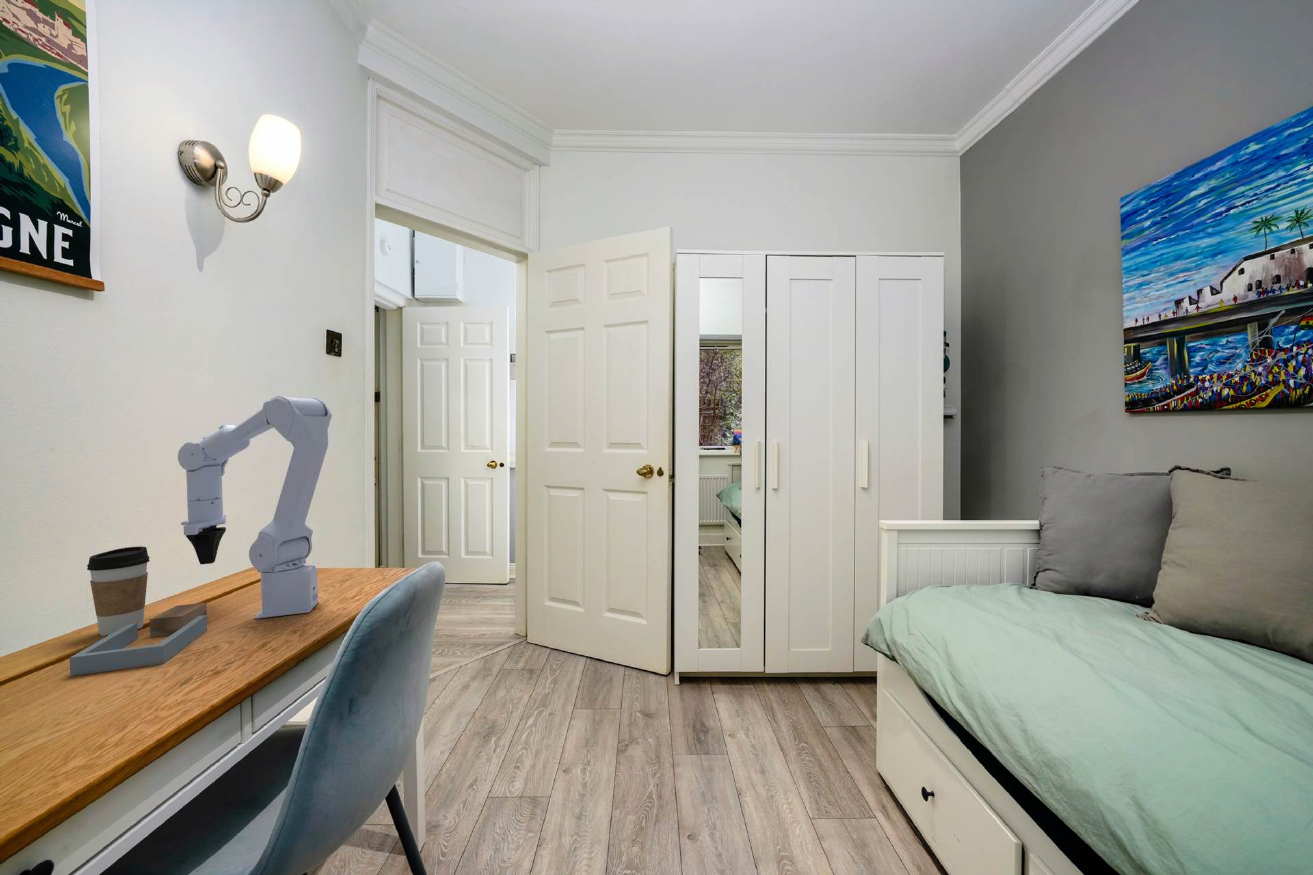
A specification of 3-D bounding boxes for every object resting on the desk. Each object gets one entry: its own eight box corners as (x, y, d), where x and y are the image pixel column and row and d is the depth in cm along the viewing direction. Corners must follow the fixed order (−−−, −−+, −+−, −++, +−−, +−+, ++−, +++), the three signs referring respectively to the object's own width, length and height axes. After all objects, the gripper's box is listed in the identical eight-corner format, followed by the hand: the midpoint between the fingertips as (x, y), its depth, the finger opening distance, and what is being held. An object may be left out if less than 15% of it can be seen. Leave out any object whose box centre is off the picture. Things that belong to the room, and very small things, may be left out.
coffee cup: (164, 622, 105) (161, 545, 105) (117, 638, 97) (114, 556, 97) (125, 621, 106) (123, 546, 106) (75, 638, 98) (72, 556, 98)
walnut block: (206, 620, 107) (206, 602, 107) (182, 634, 99) (182, 615, 99) (176, 623, 106) (176, 605, 105) (150, 638, 98) (149, 618, 98)
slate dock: (207, 629, 100) (206, 615, 100) (164, 663, 86) (163, 645, 86) (129, 639, 97) (128, 623, 97) (70, 675, 82) (69, 657, 82)
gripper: (197, 496, 119) (199, 557, 119) (163, 504, 106) (166, 573, 106) (236, 494, 122) (238, 554, 122) (207, 502, 108) (209, 569, 108)
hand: (207, 563), depth 114 cm, fingers closed
